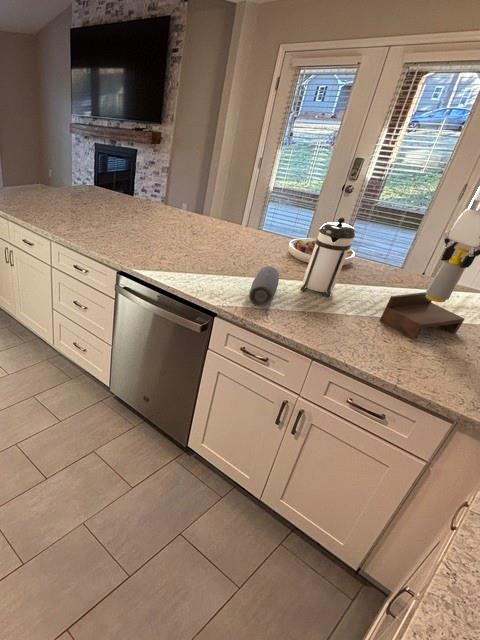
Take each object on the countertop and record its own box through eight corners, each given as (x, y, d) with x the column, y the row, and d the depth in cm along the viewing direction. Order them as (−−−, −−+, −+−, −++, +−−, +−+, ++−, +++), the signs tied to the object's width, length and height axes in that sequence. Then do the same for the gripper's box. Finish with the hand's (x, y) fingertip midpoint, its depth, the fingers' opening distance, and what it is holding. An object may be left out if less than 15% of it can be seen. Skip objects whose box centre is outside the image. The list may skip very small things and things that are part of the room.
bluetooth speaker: (253, 285, 175) (259, 262, 169) (276, 290, 172) (283, 267, 166) (244, 306, 158) (250, 282, 152) (269, 312, 154) (277, 287, 149)
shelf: (456, 333, 146) (471, 308, 141) (413, 339, 141) (427, 314, 136) (420, 315, 157) (433, 291, 152) (379, 320, 152) (391, 295, 147)
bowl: (302, 243, 225) (306, 229, 220) (360, 259, 207) (366, 244, 202) (275, 255, 207) (280, 240, 203) (336, 274, 189) (343, 257, 185)
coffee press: (345, 297, 169) (376, 223, 152) (310, 298, 166) (337, 223, 150) (320, 279, 183) (345, 210, 166) (287, 281, 180) (309, 211, 164)
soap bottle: (448, 305, 138) (477, 253, 128) (423, 299, 141) (450, 248, 131) (446, 298, 143) (475, 247, 133) (423, 292, 146) (449, 243, 136)
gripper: (525, 214, 119) (489, 273, 129) (466, 200, 133) (438, 253, 143) (506, 215, 117) (472, 274, 127) (448, 200, 131) (422, 255, 141)
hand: (454, 263), depth 135 cm, fingers closed on soap bottle, 5 cm apart
